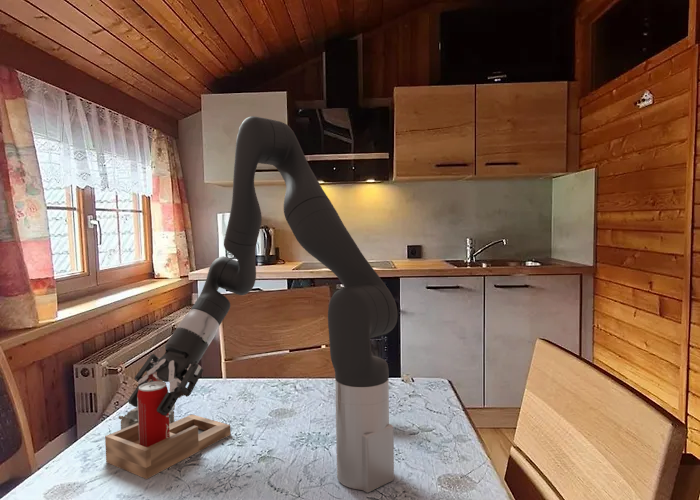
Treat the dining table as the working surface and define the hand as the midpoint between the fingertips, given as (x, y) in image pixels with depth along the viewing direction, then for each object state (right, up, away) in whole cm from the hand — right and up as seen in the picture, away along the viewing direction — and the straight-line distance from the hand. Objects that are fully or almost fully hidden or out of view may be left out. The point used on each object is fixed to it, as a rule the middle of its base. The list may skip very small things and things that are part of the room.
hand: (146, 409), depth 88 cm
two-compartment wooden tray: (+3, -9, +5) cm, 11 cm away
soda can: (+1, -8, +2) cm, 8 cm away
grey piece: (-6, -9, +16) cm, 20 cm away
